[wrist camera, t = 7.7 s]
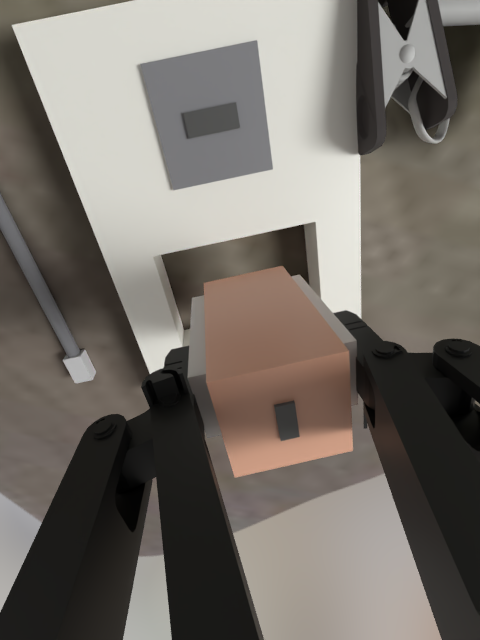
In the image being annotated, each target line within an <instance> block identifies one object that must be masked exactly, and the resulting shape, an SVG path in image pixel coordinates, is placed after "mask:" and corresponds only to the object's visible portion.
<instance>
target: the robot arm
mask: <svg viewBox="0 0 480 640" xmlns="http://www.w3.org/2000/svg"><path fill="white" fill-rule="evenodd" d="M291 277H292V278H293V280H294V281H295V282H296V283H297V285H298V286H299V287H300V289H301V290H302V291H303V292H304V294H305V295H306V296H307V298H308V299H309V300H310V301H311V303H312V304H313V305H314V307H315V308H316V309H317V310H318V312H319V313H320V314H321V315H322V317H323V318H324V319H325V321H326V322H327V323H328V324H329V326H330V327H331V328H332V330H333V331H334V332H335V333H336V335H337V336H338V337H339V339H340V340H341V341H342V342H343V344H344V345H345V346H346V348H347V349H348V350H349V361H350V387H351V406H353V405H358V393H359V395H360V396H361V398H362V399H363V401H364V428H367V423H368V426H369V429H370V432H371V435H372V438H373V441H374V444H375V446H376V449H377V452H378V455H379V458H380V461H381V464H382V467H383V470H384V473H385V476H386V478H387V481H388V484H389V487H390V490H391V493H392V496H393V499H394V502H395V505H396V508H397V510H398V513H399V516H400V519H401V522H402V525H403V528H404V531H405V534H406V536H407V540H408V542H409V545H410V548H411V551H412V554H413V557H414V560H415V562H416V566H417V569H418V571H419V574H420V577H421V580H422V583H423V586H424V589H425V592H426V595H427V598H428V600H429V603H430V606H431V609H432V612H433V615H434V618H435V621H436V624H437V627H438V630H439V633H440V635H441V638H442V640H480V407H479V406H478V405H476V404H475V400H476V401H477V402H478V403H480V346H479V345H477V344H474V343H472V342H470V341H466V340H462V339H445V340H441V341H439V342H437V343H436V344H435V345H434V347H433V353H407V351H406V350H405V349H404V348H403V347H402V346H401V345H399V344H396V343H393V342H388V341H383V340H382V339H381V338H380V337H379V336H378V335H377V334H376V333H375V332H374V331H373V330H372V329H371V328H370V327H369V326H367V324H366V323H365V322H363V321H362V319H361V318H360V317H359V316H358V315H357V314H354V313H352V312H350V311H347V310H345V311H340V312H336V313H332V311H331V310H330V309H329V308H328V307H327V306H326V304H325V303H324V302H323V301H322V300H321V299H320V297H319V296H318V295H317V294H316V293H315V292H314V291H313V289H312V288H311V287H310V286H309V285H308V284H307V282H306V281H305V280H304V279H303V278H302V277H301V275H295V276H291ZM141 388H142V390H143V392H144V395H145V397H146V400H147V402H148V404H149V407H150V409H149V410H147V411H146V412H145V413H143V414H141V415H139V416H137V417H135V418H133V419H130V420H128V421H126V419H125V418H124V416H122V415H119V414H111V415H108V416H105V417H102V418H100V419H98V420H97V421H95V422H94V423H93V424H91V425H90V426H89V427H88V428H87V430H86V431H85V433H84V434H83V436H82V438H81V441H80V443H79V445H78V447H77V449H76V451H75V453H74V456H73V458H72V460H71V462H70V464H69V466H68V468H67V471H66V473H65V475H64V477H63V479H62V481H61V483H60V486H59V488H58V490H57V492H56V494H55V496H54V498H53V501H52V503H51V505H50V507H49V509H48V511H47V513H46V516H45V518H44V520H43V522H42V524H41V526H40V529H39V531H38V533H37V535H36V537H35V539H34V542H33V543H32V546H31V548H30V550H29V552H28V554H27V556H26V559H25V561H24V563H23V565H22V567H21V569H20V571H19V573H18V576H17V578H16V580H15V582H14V584H13V586H12V588H11V591H10V593H9V595H8V597H7V600H6V601H5V603H4V606H3V608H2V610H1V612H0V640H123V636H124V630H125V625H126V620H127V614H128V609H129V603H130V598H131V593H132V587H133V581H134V576H135V571H136V566H137V560H138V555H139V550H140V545H141V539H142V534H143V529H144V523H145V518H146V513H147V507H148V502H149V496H150V491H151V486H152V479H153V478H155V477H156V479H157V489H158V499H159V510H160V520H161V530H162V541H163V551H164V561H165V572H166V582H167V592H168V602H169V614H170V624H171V634H172V640H264V639H263V635H262V631H261V628H260V625H259V621H258V618H257V614H256V611H255V607H254V604H253V601H252V597H251V594H250V590H249V587H248V584H247V580H246V577H245V573H244V570H243V567H242V563H241V560H240V556H239V553H238V550H237V546H236V543H235V539H234V536H233V533H232V529H231V526H230V522H229V519H228V516H227V512H226V509H225V505H224V502H223V499H222V495H221V492H220V488H219V485H218V482H217V478H216V475H215V471H214V468H213V465H212V461H211V458H210V454H209V451H208V448H207V445H206V442H205V435H204V430H205V433H206V436H207V438H211V437H215V436H219V435H222V433H221V430H220V427H219V423H218V420H217V417H216V413H215V410H214V407H213V403H212V400H211V397H210V393H209V390H208V387H207V383H206V350H205V310H204V295H203V296H198V297H194V298H192V306H191V324H190V342H189V346H184V347H180V348H175V349H171V351H170V352H169V353H168V354H167V356H166V357H165V362H164V368H162V369H159V370H157V371H155V372H153V373H151V374H150V375H148V376H147V377H146V378H145V380H144V381H143V382H142V386H141Z"/></svg>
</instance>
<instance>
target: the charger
mask: <svg viewBox="0 0 480 640" xmlns="http://www.w3.org/2000/svg"><path fill="white" fill-rule="evenodd" d="M204 310H205V350H206V383H207V387H208V390H209V393H210V397H211V400H212V403H213V407H214V410H215V413H216V417H217V420H218V423H219V427H220V430H221V433H222V436H223V440H224V443H225V446H226V450H227V453H228V456H229V460H230V463H231V466H232V470H233V473H234V476H235V477H240V476H244V475H248V474H253V473H257V472H262V471H266V470H270V469H275V468H279V467H284V466H288V465H292V464H297V463H301V462H305V461H310V460H314V459H319V458H323V457H327V456H332V455H336V454H341V453H345V452H349V451H353V440H352V414H351V387H350V361H349V350H348V349H347V348H346V346H345V345H344V344H343V342H342V341H341V340H340V339H339V337H338V336H337V335H336V333H335V332H334V331H333V330H332V328H331V327H330V326H329V324H328V323H327V322H326V321H325V319H324V318H323V317H322V315H321V314H320V313H319V312H318V310H317V309H316V308H315V307H314V305H313V304H312V303H311V301H310V300H309V299H308V298H307V296H306V295H305V294H304V292H303V291H302V290H301V289H300V287H299V286H298V285H297V283H296V282H295V281H294V280H293V278H292V277H291V276H290V275H289V273H288V272H287V271H286V269H285V268H284V267H283V266H279V267H274V268H270V269H265V270H260V271H256V272H251V273H247V274H242V275H238V276H233V277H229V278H224V279H220V280H215V281H210V282H206V283H204Z"/></svg>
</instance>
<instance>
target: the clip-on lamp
mask: <svg viewBox="0 0 480 640" xmlns="http://www.w3.org/2000/svg"><path fill="white" fill-rule="evenodd" d="M387 5H388V7H389V12H390V16H391V20H392V22H391V20H390V19H389V17H388V16H387V14H386V13H385V11H384V10H383V8H382V7H385V6H387ZM461 25H480V0H357V65H356V112H357V136H358V153H359V155H365V154H369V153H371V152H373V151H374V150H376V149H377V148H379V147H380V146H382V144H383V143H384V141H385V137H386V115H385V107H386V105H387V103H388V101H389V99H390V97H391V98H392V99H393V100H395V101H396V102H397V103H398V104H399V105H400V106H401V107H402V108H404V109H405V110H406V111H407V112H408V113H409V114H410V115H411V119H412V123H413V126H414V129H415V131H416V133H417V135H418V136H419V138H420V139H422V140H423V141H425V142H427V143H439V142H441V141H442V140H443V138H444V137H445V135H446V132H447V129H448V125H449V120H450V117H451V116H452V115H453V114H454V113H455V110H456V107H457V91H456V87H455V82H454V77H453V72H452V67H451V62H450V57H449V52H448V48H447V43H446V38H445V33H444V28H443V26H461ZM438 124H439V126H438V129H437V132H436V134H435V135H434V137H433V138H431V137H430V136H429V135H428V133H427V132H426V130H427V129H430V128H433V127H435V126H436V125H438Z"/></svg>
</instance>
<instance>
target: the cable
mask: <svg viewBox="0 0 480 640" xmlns="http://www.w3.org/2000/svg"><path fill="white" fill-rule="evenodd" d="M0 230H1V231H2V233H3V235H4V237H5V239H6V241H7V243H8V245H9V247H10V248H11V250H12V252H13V254H14V256H15V258H16V260H17V262H18V263H19V265H20V267H21V269H22V271H23V273H24V275H25V277H26V279H27V280H28V282H29V284H30V286H31V288H32V290H33V292H34V294H35V295H36V297H37V299H38V301H39V303H40V305H41V307H42V309H43V311H44V312H45V314H46V316H47V318H48V320H49V322H50V324H51V326H52V327H53V329H54V331H55V333H56V335H57V337H58V339H59V341H60V343H61V344H62V346H63V348H64V350H65V352H66V356H65V357H64V359H63V362H64V364H65V365H66V367H67V369H68V371H69V373H70V375H71V376H72V378H73V380H74V382H75V384H76V383H80V382H85V381H90V380H93V378H94V376H95V374H96V371H95V369H94V367H93V365H92V362H91V360H90V358H89V356H88V354H87V352H86V350H85V349H83V350H79V348H78V346H77V344H76V342H75V340H74V338H73V336H72V334H71V332H70V330H69V328H68V326H67V324H66V322H65V320H64V318H63V316H62V314H61V312H60V310H59V308H58V306H57V304H56V302H55V300H54V298H53V296H52V294H51V292H50V290H49V288H48V286H47V284H46V282H45V281H44V279H43V277H42V275H41V273H40V271H39V269H38V267H37V265H36V263H35V261H34V259H33V257H32V255H31V253H30V251H29V249H28V247H27V245H26V243H25V241H24V239H23V237H22V235H21V233H20V231H19V229H18V227H17V225H16V223H15V221H14V219H13V217H12V215H11V213H10V211H9V209H8V207H7V205H6V203H5V201H4V199H3V197H2V195H1V193H0Z"/></svg>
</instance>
